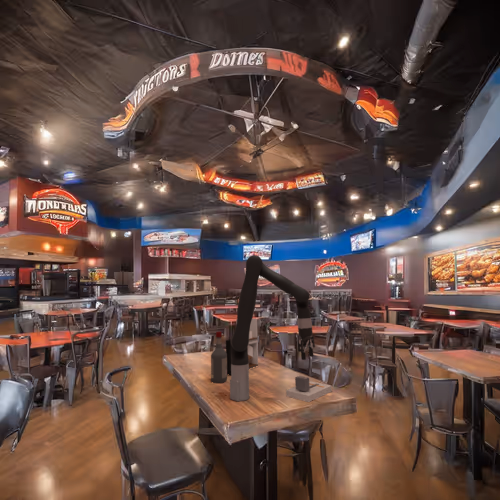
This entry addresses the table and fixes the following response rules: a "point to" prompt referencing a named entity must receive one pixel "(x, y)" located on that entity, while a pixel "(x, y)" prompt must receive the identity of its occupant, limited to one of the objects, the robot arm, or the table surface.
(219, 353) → the liquor
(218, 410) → the table surface
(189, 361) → the table surface
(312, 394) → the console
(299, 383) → the fader knob
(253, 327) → the display case
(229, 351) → the portable radio
